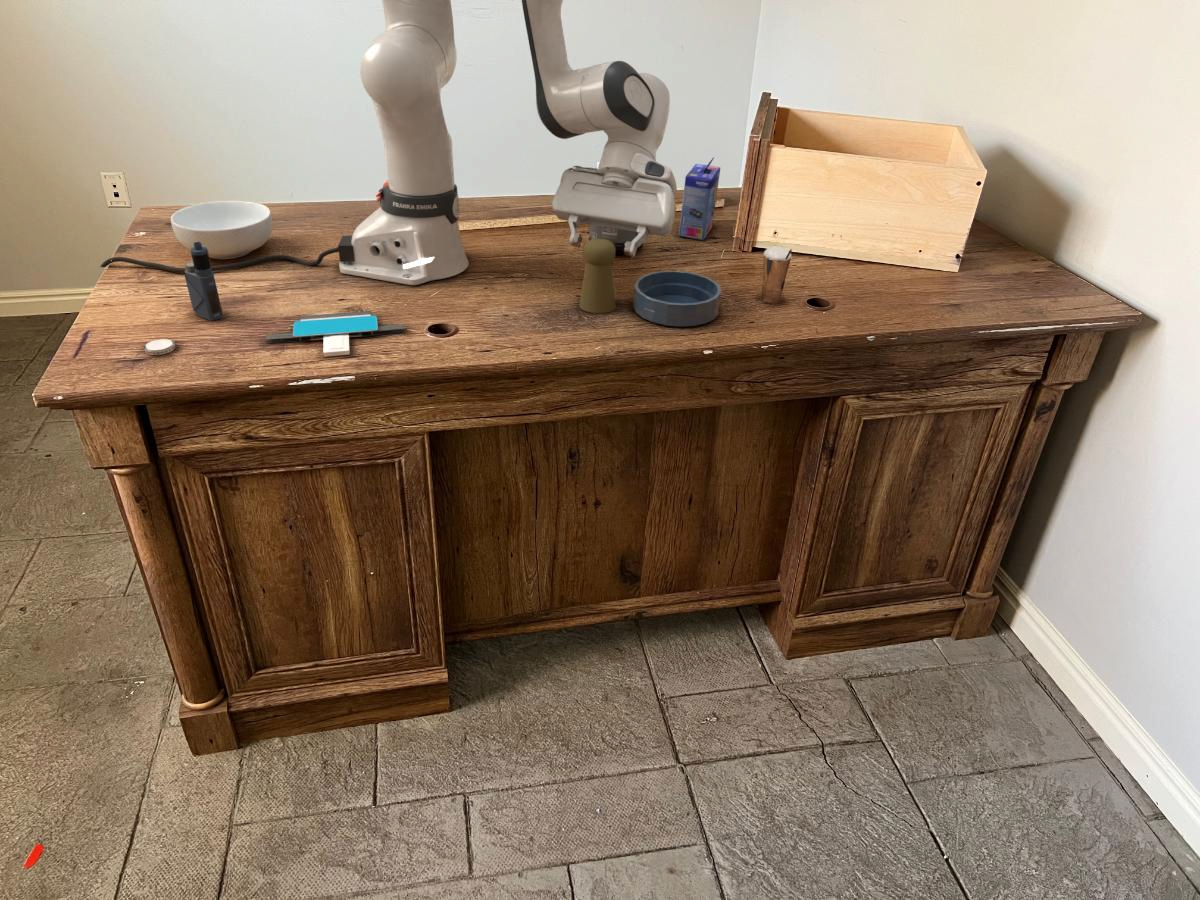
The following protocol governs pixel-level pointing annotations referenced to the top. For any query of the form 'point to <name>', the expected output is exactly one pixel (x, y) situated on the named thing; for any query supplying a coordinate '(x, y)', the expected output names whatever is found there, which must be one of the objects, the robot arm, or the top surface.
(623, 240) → the supplement container
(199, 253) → the vaping device
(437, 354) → the top surface
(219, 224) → the cereal bowl
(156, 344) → the white bottle cap
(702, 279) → the serving bowl
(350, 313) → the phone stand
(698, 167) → the ink cartridge box
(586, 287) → the olive peg figure
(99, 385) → the top surface
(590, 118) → the robot arm
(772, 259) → the milkshake
